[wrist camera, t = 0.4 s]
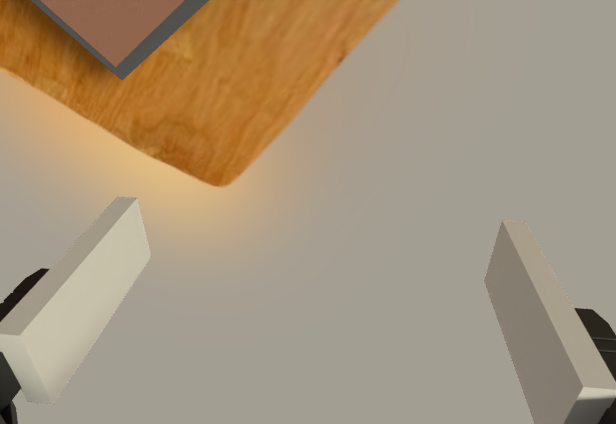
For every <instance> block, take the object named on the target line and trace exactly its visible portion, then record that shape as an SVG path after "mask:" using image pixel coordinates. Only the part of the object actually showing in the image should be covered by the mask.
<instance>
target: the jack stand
mask: <svg viewBox="0 0 616 424" xmlns="http://www.w3.org/2000/svg"><path fill="white" fill-rule="evenodd" d="M31 1H32V2H33V3H34V4H35V5H36V6H37V7H39V8H40V9H41V10H42V11H43V12H44V13H45V14H47V15H48V16H49V17H50V18H51V19H52V20H53V21H55V22H56V23H57V24H58V25H59V26H60V27H61V28H63V29H64V30H65V31H66V32H67V33H68V34H69V35H71V36H72V37H73V38H74V39H75V40H76V41H77V42H79V43H80V44H81V45H82V46H83V47H84V48H85V49H87V50H88V51H89V52H90V53H91V54H92V55H93V56H95V57H96V58H97V59H98V60H99V61H100V62H101V63H103V64H104V65H105V66H106V67H107V68H108V69H109V70H111V71H112V72H113V73H114V74H115V75H116V76H117V77H119V78H120V79H121V80H123V79H124V78H125V77H126V76H127V75H129V74H130V73H131V72H132V71H133V70H134V69H135V68H136V67H137V66H138V65H139V64H140V63H142V62H143V61H144V60H145V59H146V58H147V57H148V56H149V55H150V54H151V53H152V52H153V51H155V50H156V49H157V48H158V47H159V46H160V45H161V44H162V43H163V42H164V41H165V40H166V39H168V38H169V37H170V36H171V35H172V34H173V33H174V32H175V31H176V30H177V29H178V28H179V27H181V26H182V25H183V24H184V23H185V22H186V21H187V20H188V19H189V18H190V17H191V16H192V15H194V14H195V13H196V12H197V11H198V10H199V9H200V8H201V7H202V6H203V5H204V4H205V3H207V2H208V1H209V0H31Z"/></svg>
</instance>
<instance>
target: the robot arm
mask: <svg viewBox="0 0 616 424" xmlns="http://www.w3.org/2000/svg"><path fill="white" fill-rule="evenodd" d="M150 257H151V255H150V251H149V247H148V242H147V238H146V234H145V229H144V225H143V221H142V217H141V213H140V208H139V204H138V200H137V198H128V197H117V198H116V199H115V200H114V201H113V202H112V203H111V204H110V205H109V206H108V207H107V209H106V210H105V211H104V212H103V213H102V214H101V215H100V216H99V217H98V218H97V219H96V220H95V221H94V222H93V224H92V225H91V226H90V227H89V228H88V229H87V230H86V231H85V232H84V233H83V234H82V235H81V236H80V237H79V239H78V240H77V241H76V242H75V243H74V244H73V245H72V246H71V247H70V248H69V249H68V250H67V251H66V253H65V254H64V255H63V256H62V257H61V258H60V259H59V260H58V261H57V262H56V263H55V264H54V265H53V266H52V267H51V268H50V269H40V270H38V271H37V272H35V273H33V274H32V275H30V276H29V277H27V278H25V279H24V280H23V281H22V282H21V283H20V284H19V285H18V286H17V287H16V288H15V289H14V291H13V293H11V294H10V295H9V296H8V297H7V298H6V299H5V300H4V302H3V303H1V304H0V424H18V421H17V413H16V407H15V405H14V403H13V402H12V399H13V398H14V397H15V395H16V394H17V393H18V391H19V390H20V389H21V390H22V392H23V394H24V395H25V397H26V399H27V401H28V402H35V403H45V404H55V402H56V401H57V399H58V398H59V396H60V394H61V393H62V391H63V390H64V388H65V387H66V385H67V384H68V382H69V381H70V379H71V378H72V376H73V375H74V373H75V372H76V370H77V369H78V367H79V366H80V364H81V362H82V361H83V359H84V358H85V356H86V355H87V353H88V352H89V350H90V349H91V347H92V346H93V344H94V342H95V341H96V340H97V338H98V337H99V335H100V334H101V332H102V331H103V329H104V327H105V326H106V324H107V323H108V321H109V320H110V318H111V317H112V315H113V314H114V312H115V311H116V309H117V307H118V306H119V305H120V303H121V302H122V300H123V298H124V297H125V295H126V294H127V292H128V291H129V289H130V288H131V286H132V285H133V283H134V282H135V280H136V279H137V277H138V276H139V274H140V273H141V271H142V270H143V268H144V267H145V265H146V263H147V262H148V260H149V259H150ZM484 281H485V284H486V287H487V290H488V293H489V296H490V298H491V301H492V304H493V307H494V310H495V312H496V315H497V318H498V321H499V324H500V327H501V330H502V332H503V335H504V338H505V341H506V344H507V347H508V350H509V352H510V355H511V358H512V361H513V364H514V367H515V369H516V372H517V375H518V378H519V381H520V383H521V386H522V389H523V392H524V395H525V398H526V401H527V403H528V406H529V409H530V412H531V415H532V418H533V420H534V423H535V424H616V335H615V333H614V332H613V330H612V328H611V327H610V325H609V324H608V323H607V322H606V321H605V320H604V319H603V318H601V317H600V316H599V315H598V314H597V313H596V312H595V311H593V310H591V309H578V308H574V307H573V306H572V304H571V302H570V300H569V298H568V297H567V295H566V293H565V292H564V290H563V288H562V286H561V285H560V283H559V281H558V279H557V277H556V276H555V274H554V272H553V270H552V268H551V267H550V265H549V263H548V261H547V260H546V258H545V256H544V254H543V253H542V251H541V249H540V248H539V246H538V244H537V242H536V240H535V239H534V237H533V235H532V233H531V232H530V230H529V228H528V226H527V224H526V223H525V222H521V221H506V220H503V221H502V222H501V226H500V229H499V232H498V236H497V239H496V243H495V246H494V250H493V253H492V256H491V260H490V263H489V267H488V270H487V274H486V277H485V280H484Z"/></svg>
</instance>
